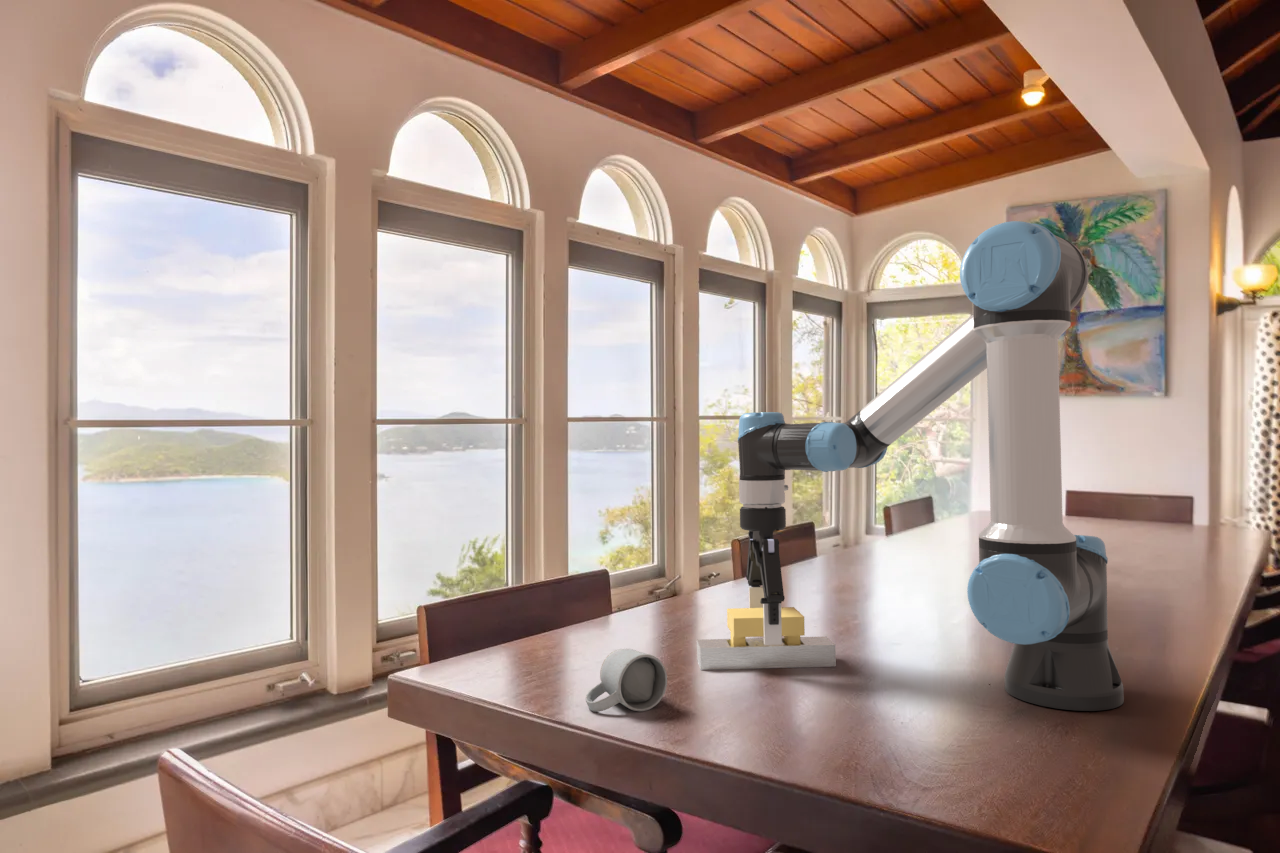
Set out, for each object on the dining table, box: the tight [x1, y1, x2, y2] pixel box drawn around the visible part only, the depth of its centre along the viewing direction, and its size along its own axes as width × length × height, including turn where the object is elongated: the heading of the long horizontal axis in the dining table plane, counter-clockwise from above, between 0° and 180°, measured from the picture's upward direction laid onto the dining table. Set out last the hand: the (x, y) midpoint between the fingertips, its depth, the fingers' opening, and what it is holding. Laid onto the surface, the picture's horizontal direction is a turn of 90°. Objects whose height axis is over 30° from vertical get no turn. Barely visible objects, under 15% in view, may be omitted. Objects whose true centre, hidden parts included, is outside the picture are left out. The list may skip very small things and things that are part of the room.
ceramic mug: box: [585, 648, 668, 713], centre depth 117 cm, size 11×8×8 cm
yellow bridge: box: [726, 606, 805, 646], centre depth 137 cm, size 8×11×8 cm, turn 92°
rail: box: [696, 636, 837, 671], centre depth 137 cm, size 6×22×4 cm, turn 92°
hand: (764, 634), depth 137 cm, fingers open, 13 cm apart
